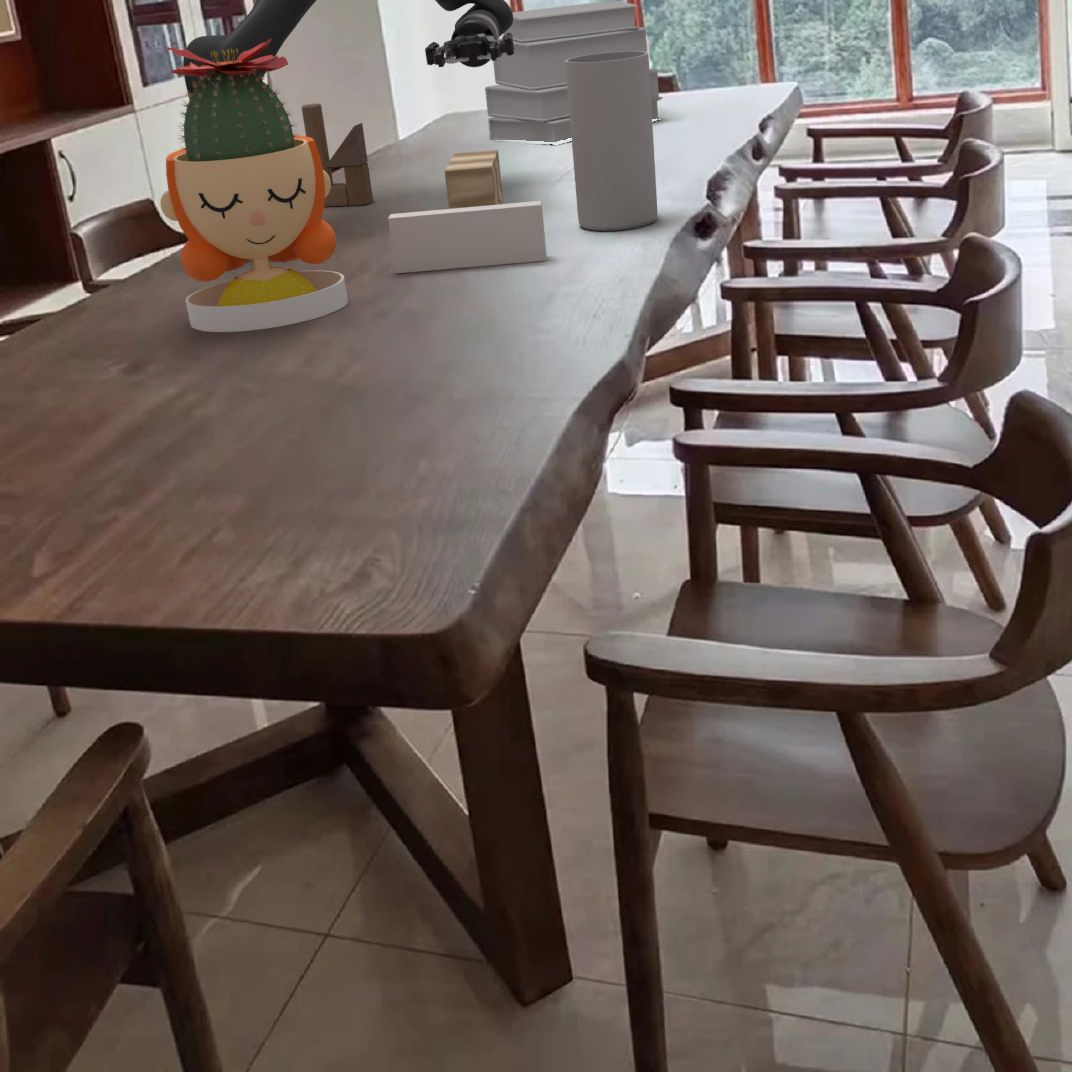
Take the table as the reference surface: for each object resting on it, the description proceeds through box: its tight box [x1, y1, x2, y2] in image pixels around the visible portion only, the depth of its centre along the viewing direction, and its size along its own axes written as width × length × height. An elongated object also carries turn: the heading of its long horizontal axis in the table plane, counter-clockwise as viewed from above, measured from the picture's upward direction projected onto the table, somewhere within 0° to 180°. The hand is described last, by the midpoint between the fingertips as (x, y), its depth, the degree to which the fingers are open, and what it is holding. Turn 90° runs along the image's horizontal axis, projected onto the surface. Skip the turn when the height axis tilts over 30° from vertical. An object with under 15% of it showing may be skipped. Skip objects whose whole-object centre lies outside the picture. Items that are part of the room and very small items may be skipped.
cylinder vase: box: [565, 51, 659, 232], centre depth 214 cm, size 12×12×25 cm
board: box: [387, 200, 548, 274], centre depth 202 cm, size 3×22×8 cm, turn 87°
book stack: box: [484, 0, 664, 142], centre depth 307 cm, size 30×35×26 cm
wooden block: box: [301, 102, 374, 208], centre depth 253 cm, size 4×11×18 cm, turn 73°
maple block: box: [444, 149, 505, 209], centre depth 218 cm, size 16×7×12 cm, turn 177°
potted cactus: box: [159, 39, 349, 333], centre depth 184 cm, size 22×22×35 cm
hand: (466, 57), depth 220 cm, fingers open, 8 cm apart
